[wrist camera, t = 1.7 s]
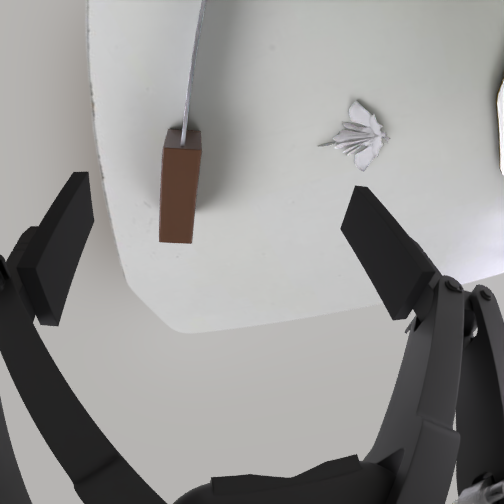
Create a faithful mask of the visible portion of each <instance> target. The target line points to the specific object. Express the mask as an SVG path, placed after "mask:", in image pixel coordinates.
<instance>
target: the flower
mask: <svg viewBox="0 0 504 504" xmlns="http://www.w3.org/2000/svg"><path fill="white" fill-rule="evenodd" d="M348 113H349V116H350V118H351V121H353V122H356V123H360V124H362V125H364V126H366V127H365V128H364V127H363V126H359V127H356V126H355V125H353V124H351V123H348V122H342V124H343V125H344V126H345V127H346V128H349V129H356V131H359V132H354V131H350V130H346V129H345V130H341V131H340V132H339V133H340V134H338V135H336V136H335V137H334V138H333V139H334V140H335V141H336V142H331V143H327V144H323V145H319V146H328V145H331V144H334V143H336V144H338V143H341V144H338V145H336V146H335V148H343V147H345V146H348V145H351V144H354V143H358V142H362V141H364V142H362V143H359V144H357V146H358V145H361V144H363V145H364V146H368V147H367V148H366V149H364V150H363V151H361V152H359V153H357V154H355V164H356V166H357V168H359V169H360V170H362V171H363V172H364V171H365V169H366V168H367V167H368V165H369V164H370V163H371V161H372V160H373V159H374V158H375V157H376V156H377V155H379V154H378V152H379V149H380V147H381V146H382V145H384V143H383V144H382V141H381V139H382V137H383V138H384V139H386V141H387V140H389V139H390V138H387V134H386V132H384V131H382V132H381V126H382V127H383V125H380V124H379V123H378V122H377V121H376V117H375V114H374V113H373V114H374V116H373V115H372V114H370V113H369V112H368V111H367V110H366V109H364V108H363V107H362V106H361V105H360V104H359V103H358V102H357V101H355V102H354V103H353V104H352V105H351V106H350V109H349V112H348ZM362 132H363V133H362ZM351 135H358V136H351ZM369 140H370V141H369ZM350 141H355V142H350ZM344 142H348V143H344ZM387 143H388V141H387ZM369 145H370V146H369ZM361 146H362V145H361ZM361 146H360V147H361ZM355 147H356V146H353V147H350V148H348V149H346V150H345V151H344V152H347V151H350V150H351V149H353V148H355ZM360 147H358V148H360ZM358 148H356V149H354V150H352V151H351V152H349V153H348V154H347V155H350V154H352V153H354V152H355V151H356V150H357V149H358ZM344 152H342V153H344ZM377 157H378V156H377Z"/></svg>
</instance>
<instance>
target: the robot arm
mask: <svg viewBox="0 0 504 504" xmlns="http://www.w3.org/2000/svg"><path fill="white" fill-rule="evenodd" d="M93 223H94V216H93V209H92V201H91V192H90V183H89V173H88V172H73V174H72V175H71V177H70V178H69V180H68V181H67V183H66V184H65V185H64V187H63V188H62V190H61V191H60V193H59V194H58V196H57V197H56V199H55V201H54V202H53V204H52V205H51V207H50V208H49V210H48V212H47V213H46V215H45V216H44V218H43V220H42V221H41V223H40V225H39V226H36V227H35V226H31V227H30V228H28V229H27V230H26V231H25V232H24V233H23V234H22V235H21V237H20V238H19V240H18V242H17V244H16V245H15V247H14V249H13V251H12V252H11V254H10V256H9V257H8V259H7V261H6V262H5V259H4V257H3V256H2V255H0V351H1V354H2V356H3V359H4V361H5V363H6V366H7V368H8V370H9V372H10V375H11V377H12V379H13V381H14V384H15V386H16V388H17V390H18V392H19V394H20V396H21V398H22V400H23V402H24V404H25V406H26V408H27V409H28V411H29V413H30V415H31V417H32V419H33V421H34V422H35V424H36V426H37V428H38V429H39V431H40V433H41V434H42V436H43V438H44V439H45V441H46V443H47V444H48V446H49V447H50V449H51V451H52V452H53V454H54V455H55V457H56V458H57V460H58V461H59V463H60V464H61V466H62V467H63V469H64V470H65V471H66V473H67V474H68V476H69V477H70V479H71V480H72V482H73V484H74V489H75V491H76V492H77V494H78V496H79V497H80V499H81V500H82V501H83V503H84V504H167V503H166V502H165V501H164V500H163V499H162V498H161V497H160V496H159V495H157V493H156V492H155V491H154V490H153V489H152V488H151V487H150V486H149V485H148V484H147V483H146V482H145V481H144V480H143V479H142V478H141V477H140V476H139V475H138V474H137V473H136V472H135V470H134V469H133V468H132V467H131V466H130V465H129V464H128V463H127V461H126V460H125V459H124V458H123V457H122V456H121V455H120V453H119V452H118V451H117V450H116V449H115V448H114V446H113V445H112V444H111V443H110V442H109V440H108V439H107V438H106V436H105V435H104V434H103V433H102V431H101V430H100V429H99V427H98V426H97V425H96V424H95V422H94V421H93V420H92V418H91V417H90V415H89V414H88V413H87V411H86V410H85V409H84V407H83V406H82V404H81V403H80V401H79V400H78V399H77V397H76V396H75V394H74V393H73V391H72V390H71V388H70V387H69V385H68V383H67V382H66V380H65V379H64V377H63V376H62V374H61V372H60V371H59V369H58V367H57V366H56V364H55V362H54V361H53V359H52V357H51V356H50V354H49V352H48V350H47V349H46V347H45V345H44V343H43V341H42V340H41V338H40V336H39V334H38V332H37V330H36V328H35V326H34V324H33V321H34V318H35V315H36V316H37V318H38V320H39V322H40V325H48V326H58V325H59V322H60V318H61V315H62V311H63V308H64V305H65V301H66V298H67V295H68V292H69V289H70V286H71V282H72V279H73V277H74V273H75V271H76V268H77V265H78V262H79V259H80V257H81V254H82V251H83V249H84V246H85V243H86V241H87V238H88V236H89V233H90V231H91V228H92V226H93ZM341 231H342V232H343V234H344V236H345V237H346V239H347V241H348V242H349V244H350V245H351V247H352V249H353V250H354V252H355V254H356V256H357V257H358V259H359V261H360V262H361V264H362V266H363V267H364V269H365V271H366V273H367V274H368V276H369V278H370V280H371V281H372V283H373V285H374V287H375V288H376V290H377V292H378V294H379V296H380V297H381V299H382V301H383V303H384V305H385V307H386V308H387V310H388V312H389V314H390V316H391V318H392V320H400V319H406V318H407V317H408V315H409V314H410V312H411V311H412V309H413V310H414V312H415V313H416V316H415V317H414V319H413V320H412V322H411V324H410V325H409V326H408V327H407V329H406V331H405V333H407V332H408V331H409V330H410V333H409V338H408V342H407V345H406V349H405V353H404V357H403V360H402V364H401V367H400V371H399V374H398V378H397V381H396V384H395V387H394V391H393V394H392V397H391V400H390V403H389V406H388V409H387V412H386V414H385V417H384V420H383V423H382V425H381V428H380V431H379V433H378V436H377V439H376V441H375V444H374V446H373V448H372V449H371V451H370V452H369V453H368V455H367V456H366V457H365V458H364V460H363V461H359V459H358V456H357V454H356V455H352V456H348V457H344V458H340V459H336V460H332V461H327V462H324V463H322V464H320V465H319V466H316V467H314V468H312V469H310V470H308V471H306V472H304V473H302V474H299V475H297V476H295V477H291V478H284V477H272V476H261V475H252V474H248V475H238V476H225V477H211V481H210V483H208V484H205V485H202V486H199V487H197V488H195V489H192V490H191V491H189V492H187V493H185V494H184V495H183V496H181V497H180V498H178V500H176V501H175V502H174V503H173V504H445V501H446V498H447V495H448V491H449V487H450V484H451V480H452V476H453V472H454V468H455V464H456V472H457V473H456V477H457V490H458V496H459V499H458V500H456V501H454V502H453V503H452V504H504V322H503V318H502V315H501V312H500V309H499V306H498V303H497V300H496V298H495V296H494V294H493V293H492V292H491V290H490V289H488V288H487V287H485V286H483V285H476V287H475V288H474V290H473V291H472V292H468V291H464V290H463V288H462V286H461V284H460V283H459V282H458V281H457V280H455V279H454V278H452V277H450V276H445V275H444V276H442V275H441V273H440V272H439V270H438V269H437V268H436V266H435V265H434V264H433V262H432V261H431V260H430V258H428V256H427V254H426V253H425V252H423V249H422V248H421V247H420V245H419V244H418V243H417V242H416V241H414V240H413V239H412V238H411V237H409V236H408V234H407V233H406V232H405V231H404V229H403V228H402V227H401V226H400V225H399V223H398V222H397V221H396V220H395V218H394V217H393V216H392V215H391V214H390V213H389V211H388V210H387V209H386V208H385V207H384V205H383V204H382V203H381V202H380V201H379V200H378V199H377V197H376V196H375V195H374V194H373V193H372V192H371V191H370V189H369V188H368V187H363V186H355V188H354V191H353V194H352V197H351V200H350V203H349V206H348V209H347V211H346V214H345V217H344V220H343V223H342V226H341ZM477 327H478V331H477V335H476V336H475V337H474V336H473V332H474V331H475V330H476V328H477ZM455 410H456V431H454V430H453V421H454V416H455ZM456 461H457V462H456ZM0 504H32V502H31V500H30V498H29V495H28V493H27V490H26V487H25V485H24V482H23V479H22V476H21V473H20V470H19V467H18V464H17V461H16V458H15V455H14V452H13V449H12V445H11V441H10V437H9V433H8V430H7V425H6V421H5V417H4V412H3V408H2V403H1V398H0Z"/></svg>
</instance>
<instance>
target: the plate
mask: <svg viewBox="0 0 504 504" xmlns="http://www.w3.org/2000/svg"><path fill="white" fill-rule="evenodd" d="M496 107H497V118H498V131H499V157H500V170H501V173H502V174H503V175H504V77H503V80H502V83H501V85H500V88H499V90H498V93H497V100H496Z"/></svg>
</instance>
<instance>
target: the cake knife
mask: <svg viewBox="0 0 504 504" xmlns="http://www.w3.org/2000/svg"><path fill="white" fill-rule="evenodd" d="M206 1H207V0H202V4H201V9H200V14H199V19H198V25H197V31H196V36H195V42H194V48H193V55H192V61H191V68H190V74H189V81H188V89H187V96H186V104H185V112H184V121H183V130H179V129H168V131H167V135H166V139H165V142H164V146H163V154H162V170H161V190H160V219H159V242H166V243H188V244H191V243H192V237H193V227H194V216H195V206H196V197H197V188H198V179H199V170H200V162H201V154H202V143H201V131H194V130H186V129H187V121H188V113H189V105H190V97H191V90H192V83H193V76H194V69H195V63H196V56H197V50H198V44H199V38H200V32H201V27H202V21H203V16H204V11H205V6H206Z"/></svg>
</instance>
